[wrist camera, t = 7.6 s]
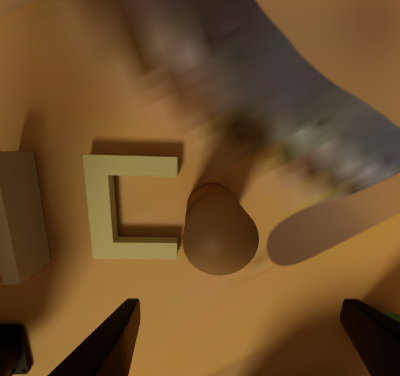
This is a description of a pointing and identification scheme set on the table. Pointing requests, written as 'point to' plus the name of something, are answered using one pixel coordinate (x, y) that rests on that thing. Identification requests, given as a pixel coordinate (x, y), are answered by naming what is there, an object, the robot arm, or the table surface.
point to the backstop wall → (21, 218)
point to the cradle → (106, 205)
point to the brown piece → (218, 231)
